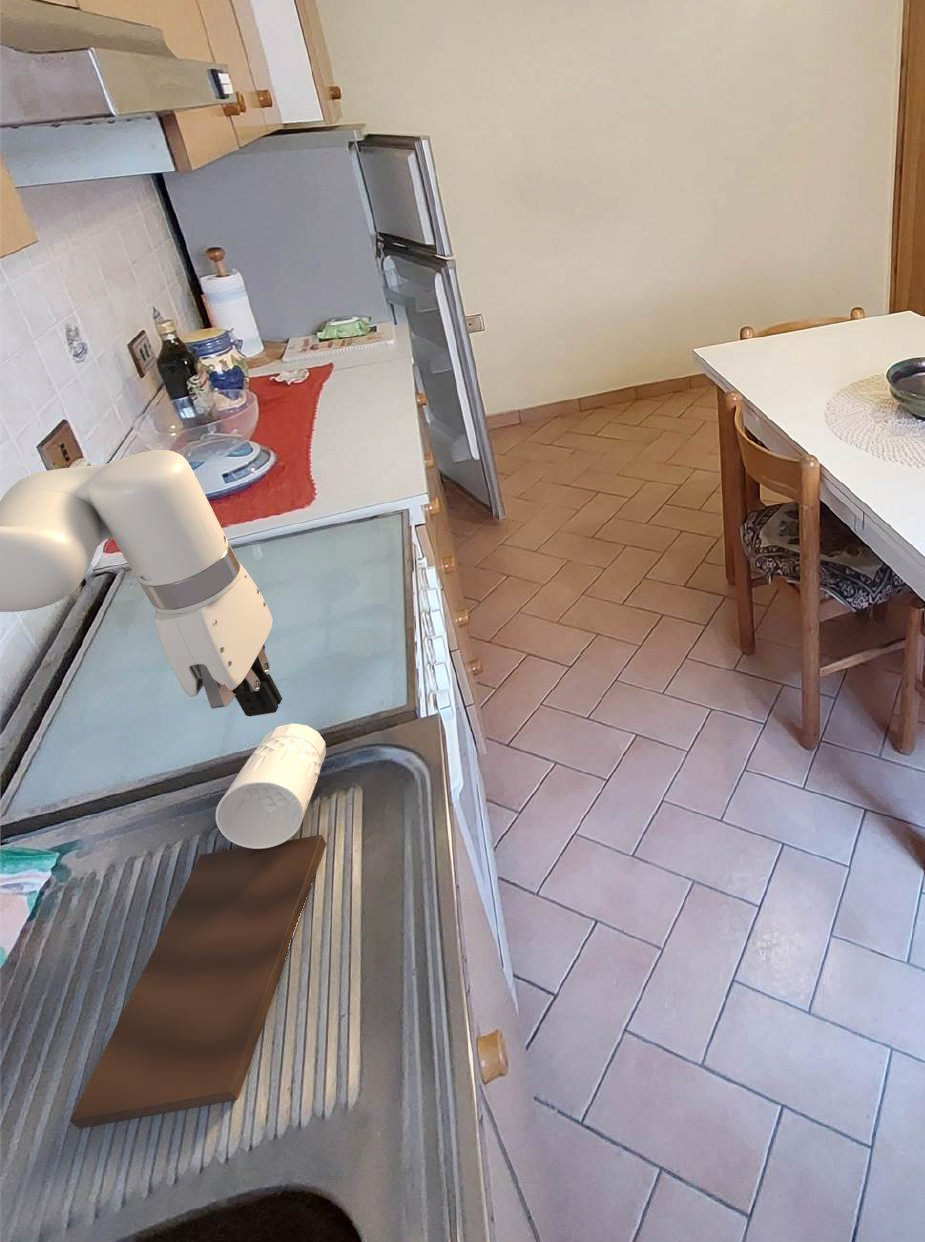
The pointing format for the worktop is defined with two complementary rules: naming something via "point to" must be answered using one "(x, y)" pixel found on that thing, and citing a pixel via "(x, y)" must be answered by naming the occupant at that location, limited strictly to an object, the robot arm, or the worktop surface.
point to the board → (204, 986)
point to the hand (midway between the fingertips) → (265, 708)
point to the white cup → (272, 788)
